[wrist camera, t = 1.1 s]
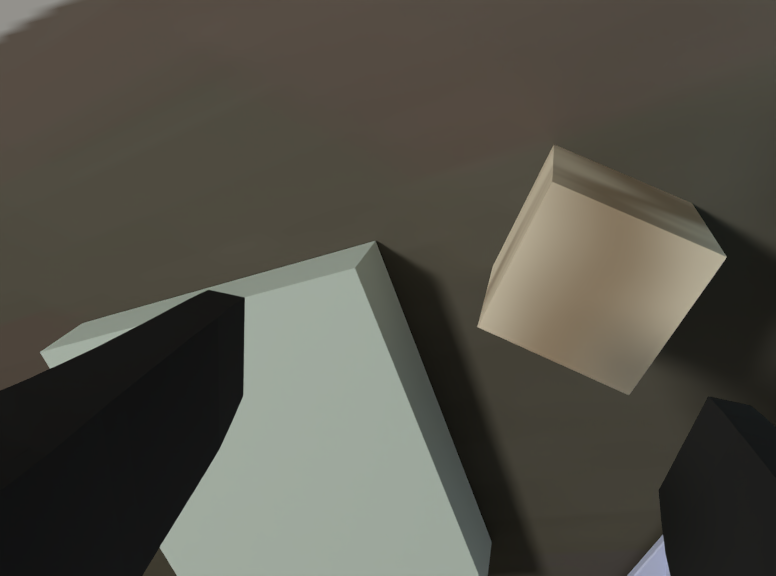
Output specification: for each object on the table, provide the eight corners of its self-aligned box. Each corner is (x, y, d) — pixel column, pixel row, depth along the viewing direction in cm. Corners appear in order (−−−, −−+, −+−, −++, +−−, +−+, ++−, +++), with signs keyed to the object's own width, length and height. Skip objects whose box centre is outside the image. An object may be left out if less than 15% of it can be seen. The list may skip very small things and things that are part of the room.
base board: (375, 240, 22) (354, 267, 19) (491, 542, 26) (485, 592, 24) (82, 323, 27) (40, 352, 24) (222, 564, 31) (196, 607, 29)
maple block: (691, 202, 19) (726, 256, 15) (616, 320, 21) (629, 395, 17) (554, 143, 19) (552, 181, 15) (493, 265, 21) (477, 326, 17)
